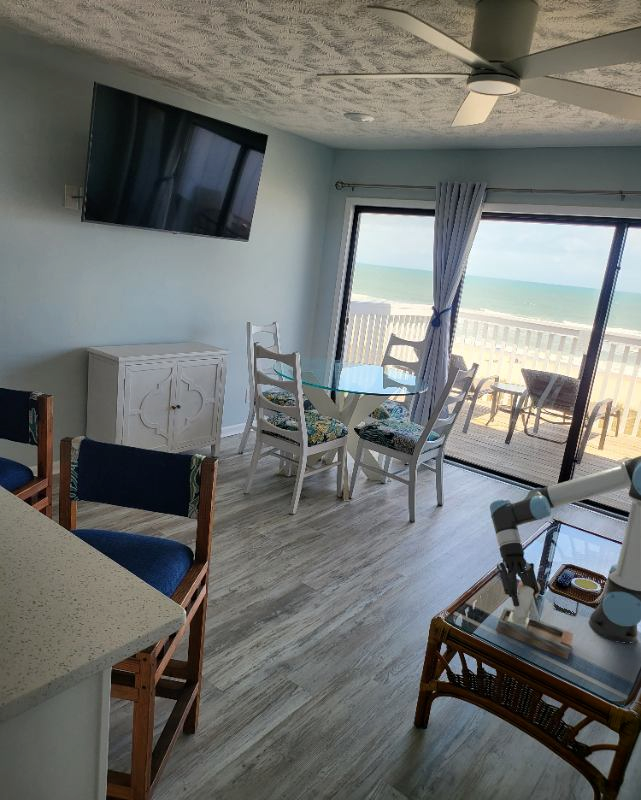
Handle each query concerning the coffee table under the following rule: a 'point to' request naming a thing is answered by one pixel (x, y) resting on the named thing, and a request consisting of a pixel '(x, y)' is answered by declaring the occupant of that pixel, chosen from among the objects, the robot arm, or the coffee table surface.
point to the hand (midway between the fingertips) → (528, 616)
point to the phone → (563, 609)
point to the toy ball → (522, 584)
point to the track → (538, 634)
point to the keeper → (526, 598)
